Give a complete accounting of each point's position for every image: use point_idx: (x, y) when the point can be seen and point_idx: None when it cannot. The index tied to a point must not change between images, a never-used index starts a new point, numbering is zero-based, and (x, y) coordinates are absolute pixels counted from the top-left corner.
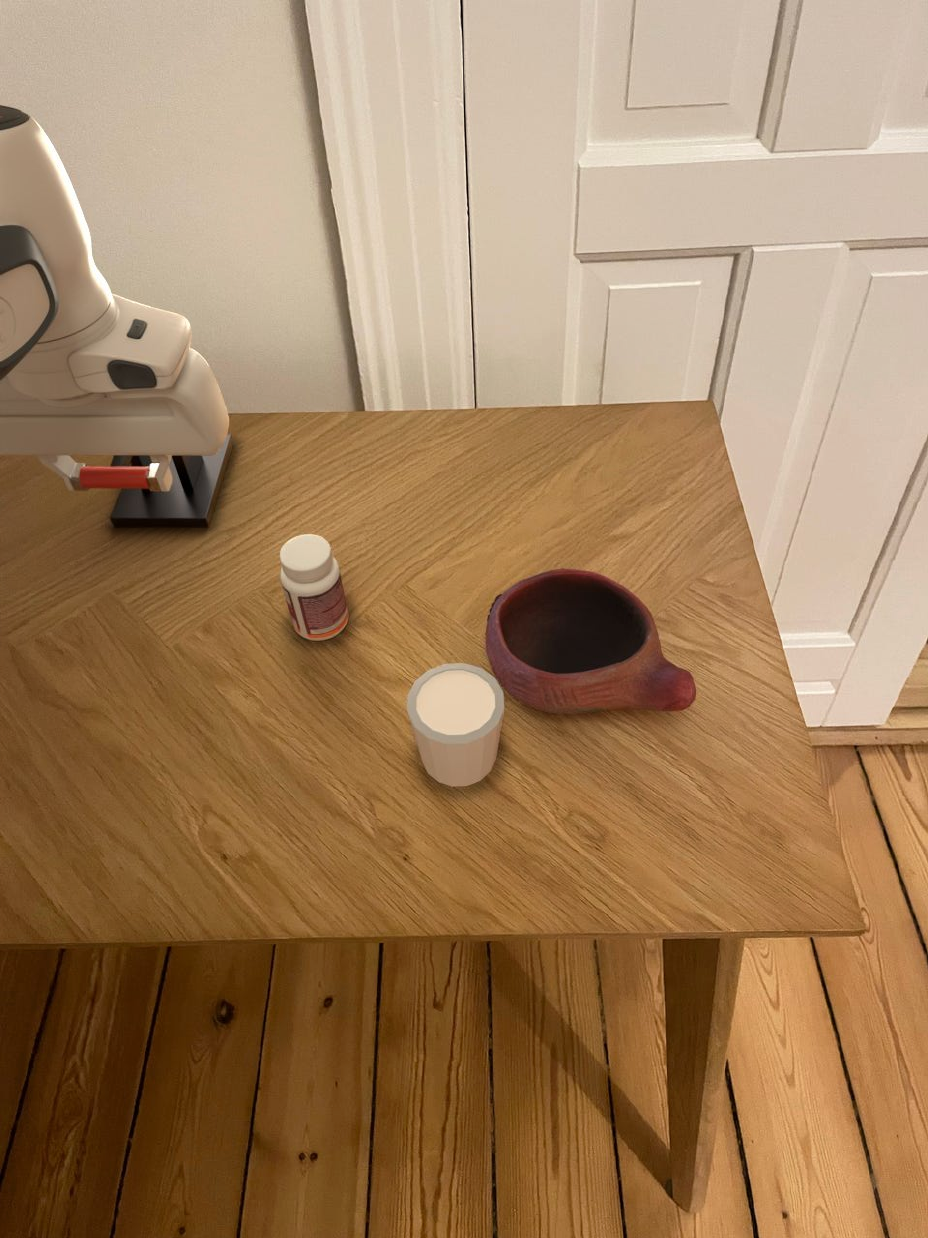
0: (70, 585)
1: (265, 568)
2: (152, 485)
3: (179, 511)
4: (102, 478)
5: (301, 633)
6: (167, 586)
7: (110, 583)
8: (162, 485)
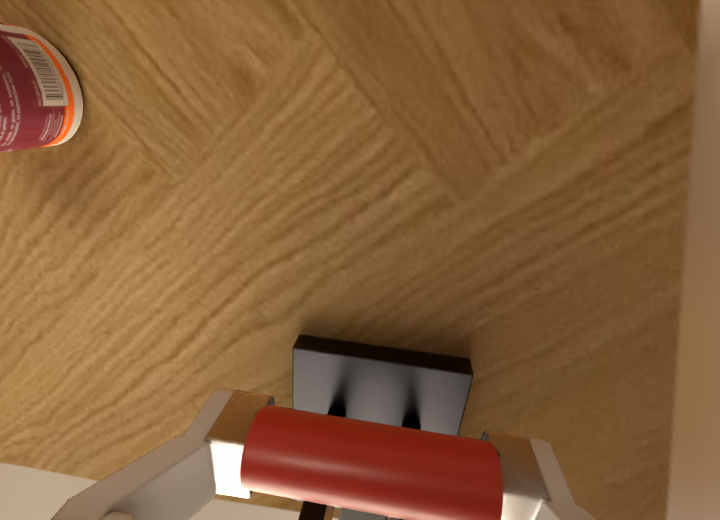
0: (548, 229)
1: (179, 232)
2: (245, 412)
3: (343, 369)
4: (407, 470)
5: (32, 35)
6: (347, 206)
7: (463, 226)
8: (213, 407)
